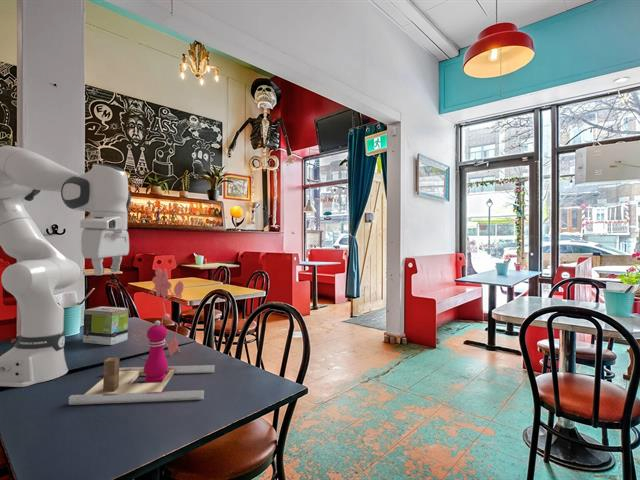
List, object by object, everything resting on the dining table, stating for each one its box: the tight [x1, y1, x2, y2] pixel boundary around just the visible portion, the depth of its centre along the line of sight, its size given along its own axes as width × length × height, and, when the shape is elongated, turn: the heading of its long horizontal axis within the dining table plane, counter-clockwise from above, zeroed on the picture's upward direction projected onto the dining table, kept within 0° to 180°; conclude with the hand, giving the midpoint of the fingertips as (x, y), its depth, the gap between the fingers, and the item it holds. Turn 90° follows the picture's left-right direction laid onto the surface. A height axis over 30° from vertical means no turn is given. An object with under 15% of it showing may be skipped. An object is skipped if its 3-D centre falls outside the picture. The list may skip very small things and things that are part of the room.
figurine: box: [137, 267, 185, 362], centre depth 138 cm, size 15×26×35 cm, turn 54°
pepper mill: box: [143, 320, 169, 383], centre depth 112 cm, size 7×7×20 cm
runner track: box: [68, 364, 215, 406], centre depth 109 cm, size 36×22×2 cm, turn 99°
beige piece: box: [83, 357, 175, 395], centre depth 108 cm, size 20×19×10 cm
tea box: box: [82, 306, 129, 346], centre depth 153 cm, size 15×10×15 cm, turn 77°
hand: (107, 273), depth 94 cm, fingers open, 8 cm apart
